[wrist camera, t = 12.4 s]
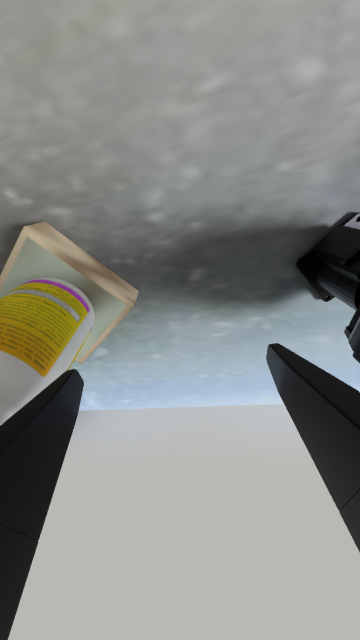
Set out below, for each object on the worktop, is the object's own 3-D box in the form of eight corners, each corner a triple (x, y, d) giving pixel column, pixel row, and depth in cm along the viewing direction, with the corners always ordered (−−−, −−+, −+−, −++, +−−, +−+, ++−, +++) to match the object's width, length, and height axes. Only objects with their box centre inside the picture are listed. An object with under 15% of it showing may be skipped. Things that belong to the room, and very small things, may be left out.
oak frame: (138, 291, 22) (134, 305, 19) (90, 346, 25) (81, 364, 23) (44, 221, 18) (22, 226, 15) (3, 298, 21) (-19, 314, 19)
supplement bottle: (10, 268, 17) (-285, 417, 6) (94, 280, 17) (-28, 429, 7) (29, 333, 20) (-133, 501, 9) (98, 340, 21) (22, 502, 10)
